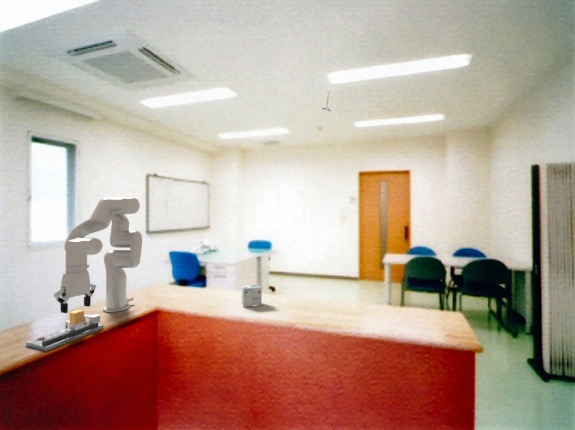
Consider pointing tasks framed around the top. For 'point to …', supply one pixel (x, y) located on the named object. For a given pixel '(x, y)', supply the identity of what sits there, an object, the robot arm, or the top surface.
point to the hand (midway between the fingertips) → (76, 309)
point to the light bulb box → (251, 295)
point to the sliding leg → (76, 320)
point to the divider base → (63, 341)
